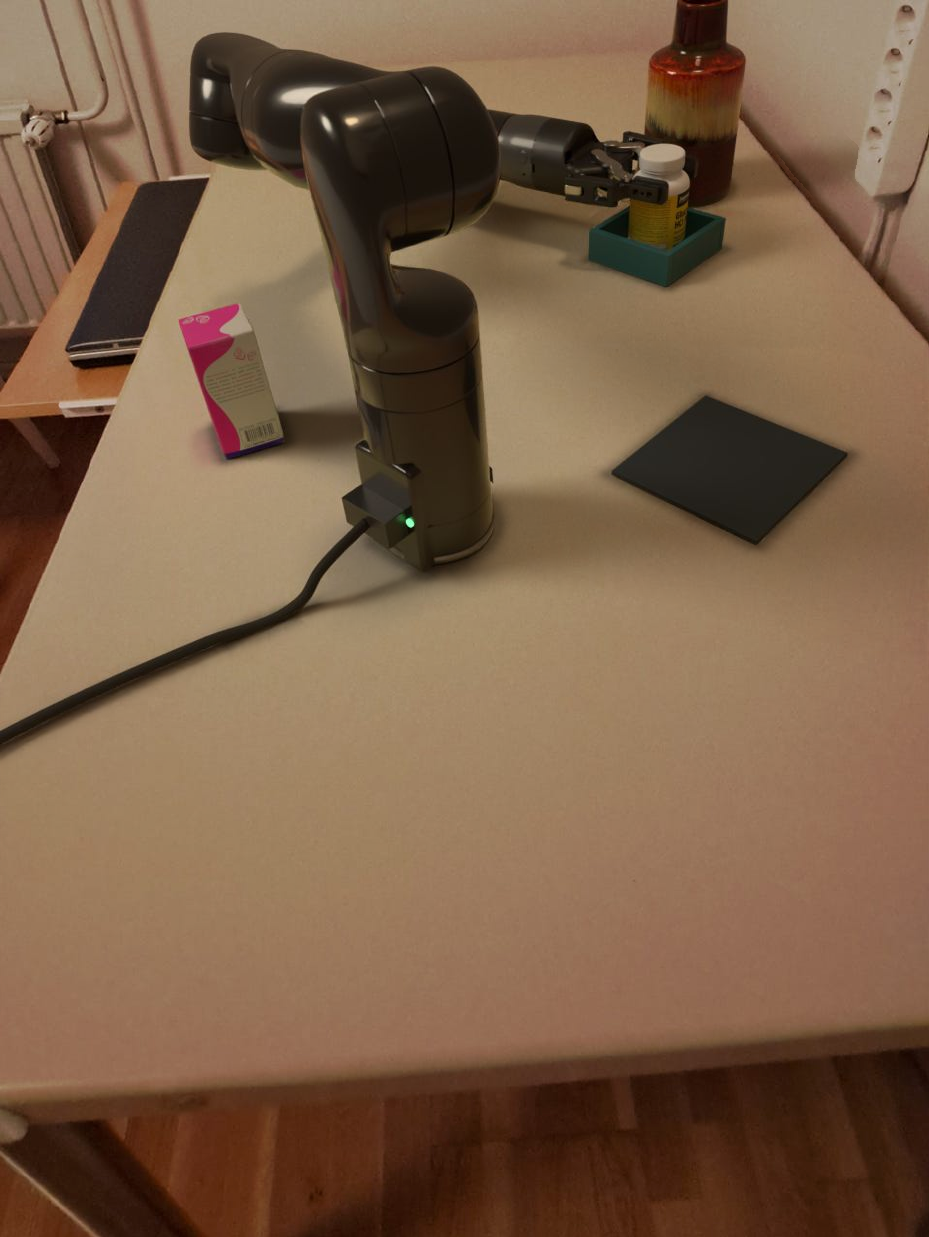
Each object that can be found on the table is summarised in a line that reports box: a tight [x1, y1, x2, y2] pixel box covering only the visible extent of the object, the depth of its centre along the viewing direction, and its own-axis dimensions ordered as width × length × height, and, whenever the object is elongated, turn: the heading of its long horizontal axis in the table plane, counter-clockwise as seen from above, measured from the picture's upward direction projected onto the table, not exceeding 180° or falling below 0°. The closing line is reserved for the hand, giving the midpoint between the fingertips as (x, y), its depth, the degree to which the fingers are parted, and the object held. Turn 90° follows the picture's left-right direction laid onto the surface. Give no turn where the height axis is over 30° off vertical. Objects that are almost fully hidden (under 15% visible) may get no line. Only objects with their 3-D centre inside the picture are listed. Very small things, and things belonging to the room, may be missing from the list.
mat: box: [610, 394, 848, 545], centre depth 79 cm, size 14×14×1 cm
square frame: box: [587, 205, 727, 288], centre depth 104 cm, size 11×11×4 cm
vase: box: [643, 0, 747, 208], centre depth 109 cm, size 11×11×20 cm
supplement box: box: [178, 302, 286, 460], centre depth 84 cm, size 6×6×12 cm
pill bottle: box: [628, 144, 690, 251], centre depth 101 cm, size 6×6×11 cm
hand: (681, 181), depth 98 cm, fingers closed on pill bottle, 6 cm apart
